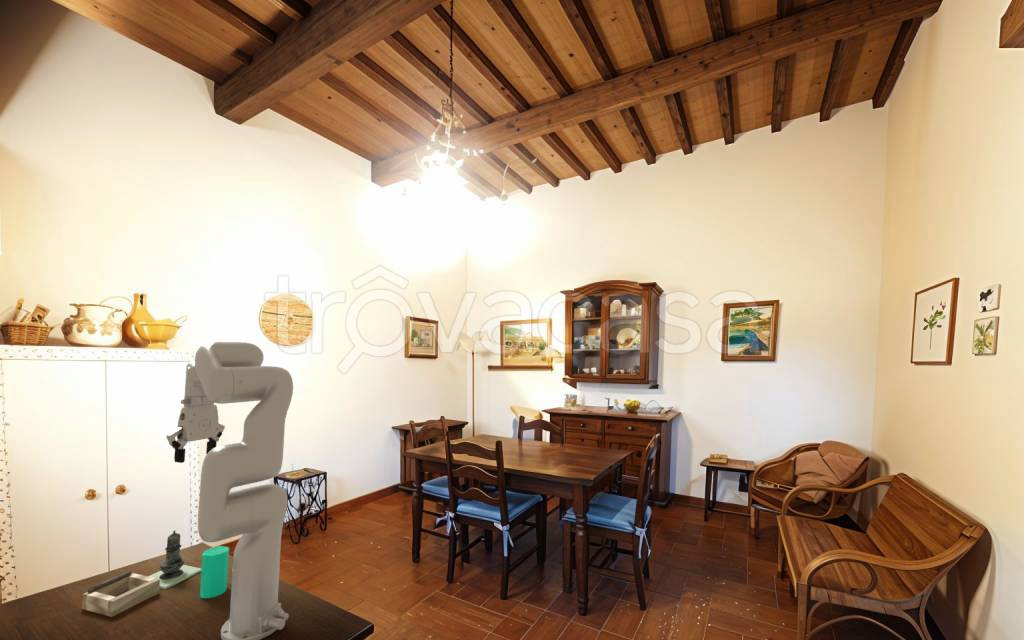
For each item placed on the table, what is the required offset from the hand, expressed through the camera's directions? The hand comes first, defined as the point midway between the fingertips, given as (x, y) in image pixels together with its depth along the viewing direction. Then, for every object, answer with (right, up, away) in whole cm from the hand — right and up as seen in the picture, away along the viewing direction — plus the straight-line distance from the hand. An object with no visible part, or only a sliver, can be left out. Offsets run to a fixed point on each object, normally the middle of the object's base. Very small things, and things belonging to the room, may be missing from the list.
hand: (195, 458), depth 131 cm
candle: (+18, -30, -18) cm, 39 cm away
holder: (-2, -29, -22) cm, 37 cm away
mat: (+1, -30, -11) cm, 32 cm away
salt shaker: (+1, -29, -11) cm, 31 cm away
